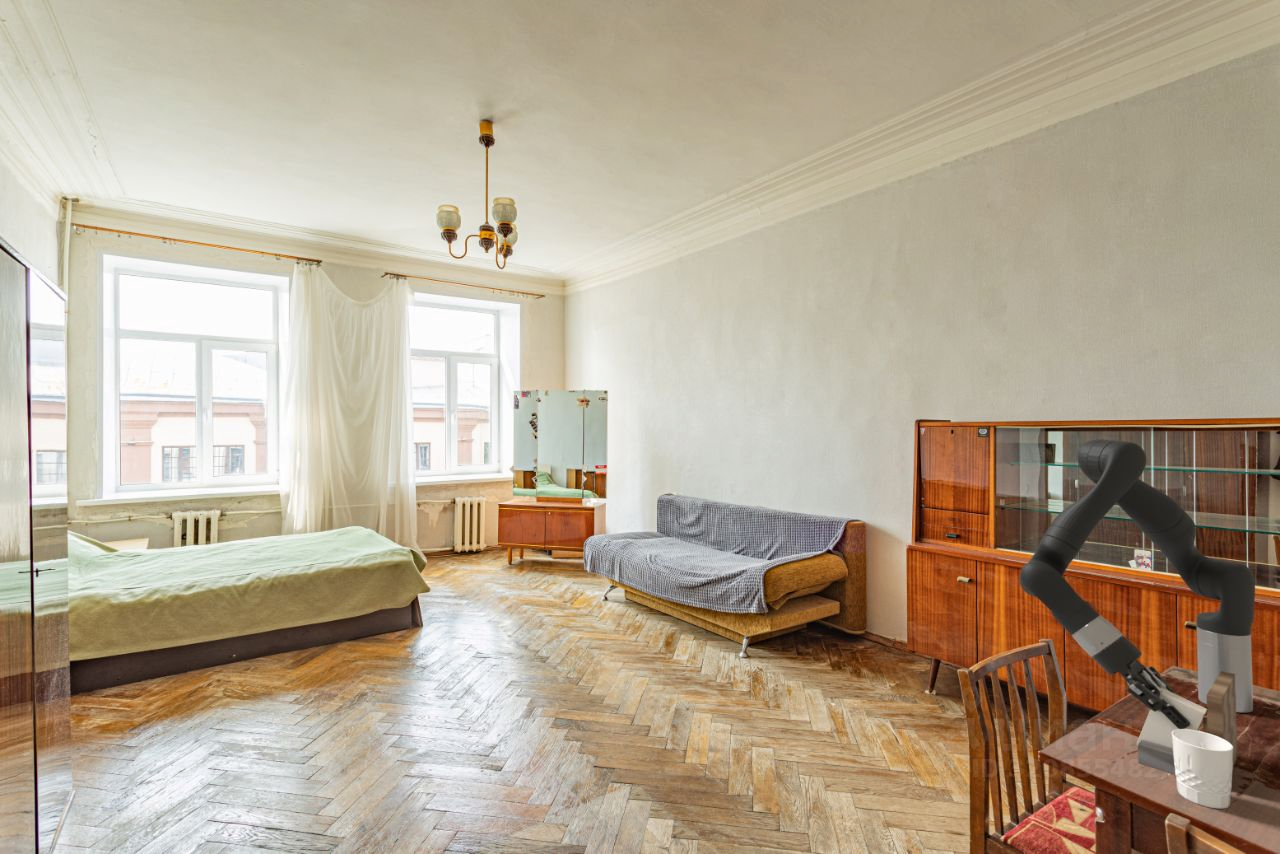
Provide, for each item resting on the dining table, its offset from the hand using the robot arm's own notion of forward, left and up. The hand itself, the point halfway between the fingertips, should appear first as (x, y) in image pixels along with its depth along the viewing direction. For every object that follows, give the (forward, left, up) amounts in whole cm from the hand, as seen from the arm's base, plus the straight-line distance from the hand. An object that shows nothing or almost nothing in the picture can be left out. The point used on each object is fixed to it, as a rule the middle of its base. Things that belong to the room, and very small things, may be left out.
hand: (1187, 723), depth 117 cm
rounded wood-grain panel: (-4, -1, -8) cm, 9 cm away
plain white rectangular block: (0, -4, -7) cm, 8 cm away
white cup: (+11, +3, -8) cm, 14 cm away
